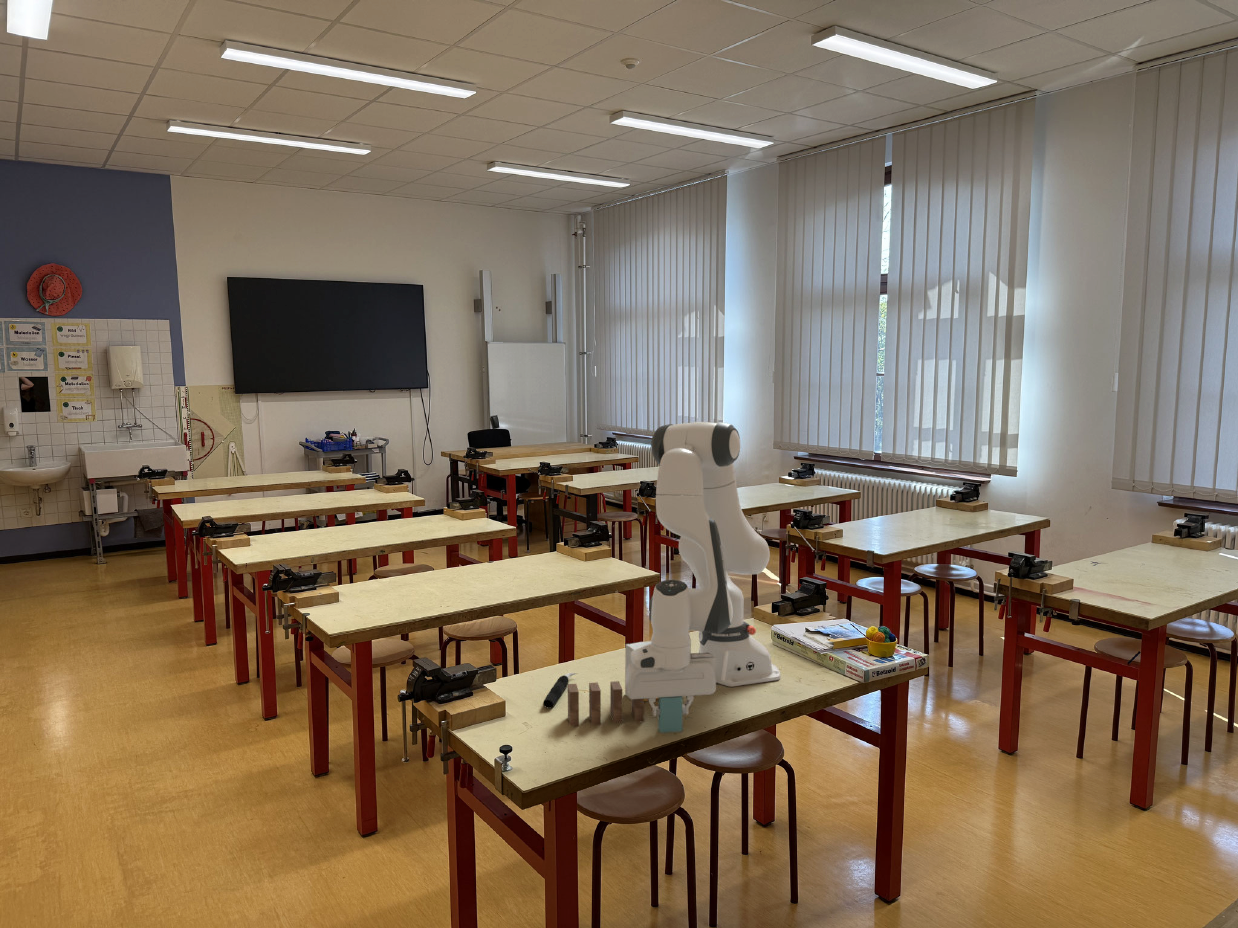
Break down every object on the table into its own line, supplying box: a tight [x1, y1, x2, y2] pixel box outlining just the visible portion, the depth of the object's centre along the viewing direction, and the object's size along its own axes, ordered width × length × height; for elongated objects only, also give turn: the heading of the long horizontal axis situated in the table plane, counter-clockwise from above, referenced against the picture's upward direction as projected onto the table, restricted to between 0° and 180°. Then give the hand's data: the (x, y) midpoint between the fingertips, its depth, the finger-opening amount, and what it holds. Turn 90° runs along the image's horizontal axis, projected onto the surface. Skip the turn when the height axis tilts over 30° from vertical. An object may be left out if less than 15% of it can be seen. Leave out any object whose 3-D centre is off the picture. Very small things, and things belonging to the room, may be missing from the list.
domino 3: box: [609, 680, 623, 724], centre depth 193 cm, size 2×5×8 cm, turn 9°
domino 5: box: [657, 696, 684, 734], centre depth 186 cm, size 2×5×8 cm, turn 99°
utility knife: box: [542, 672, 579, 709], centre depth 208 cm, size 22×4×3 cm, turn 170°
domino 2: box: [588, 681, 602, 726], centre depth 192 cm, size 2×5×8 cm, turn 9°
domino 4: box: [631, 699, 645, 723], centre depth 193 cm, size 2×5×8 cm, turn 9°
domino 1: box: [567, 683, 580, 727], centre depth 191 cm, size 2×5×8 cm, turn 9°
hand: (670, 714), depth 187 cm, fingers closed on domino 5, 5 cm apart
